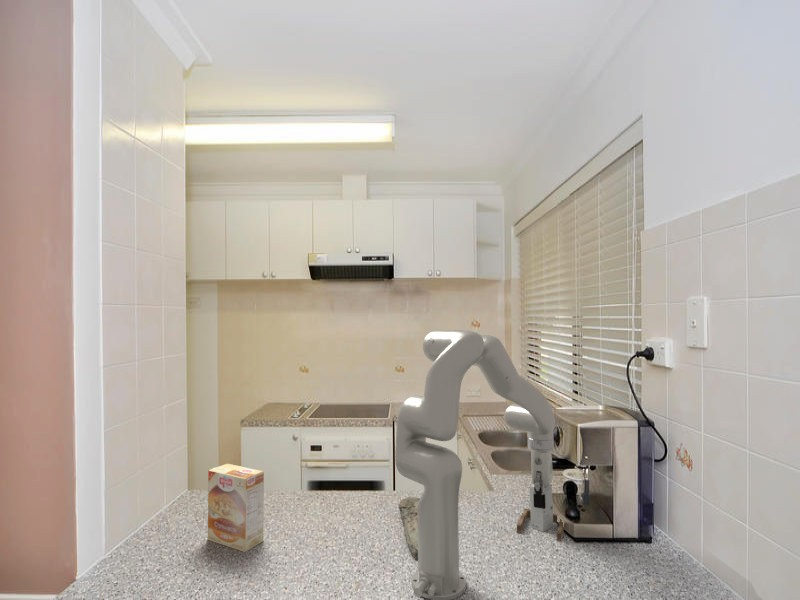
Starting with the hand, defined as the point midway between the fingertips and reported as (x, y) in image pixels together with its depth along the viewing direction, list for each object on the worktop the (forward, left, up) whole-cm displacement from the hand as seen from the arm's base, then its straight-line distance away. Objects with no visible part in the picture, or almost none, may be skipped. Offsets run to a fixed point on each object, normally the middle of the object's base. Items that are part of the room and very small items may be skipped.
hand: (542, 501), depth 131 cm
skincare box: (0, 0, -8) cm, 8 cm away
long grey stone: (-18, +33, -8) cm, 38 cm away
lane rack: (-1, 0, -7) cm, 7 cm away
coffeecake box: (-45, +77, -8) cm, 89 cm away
